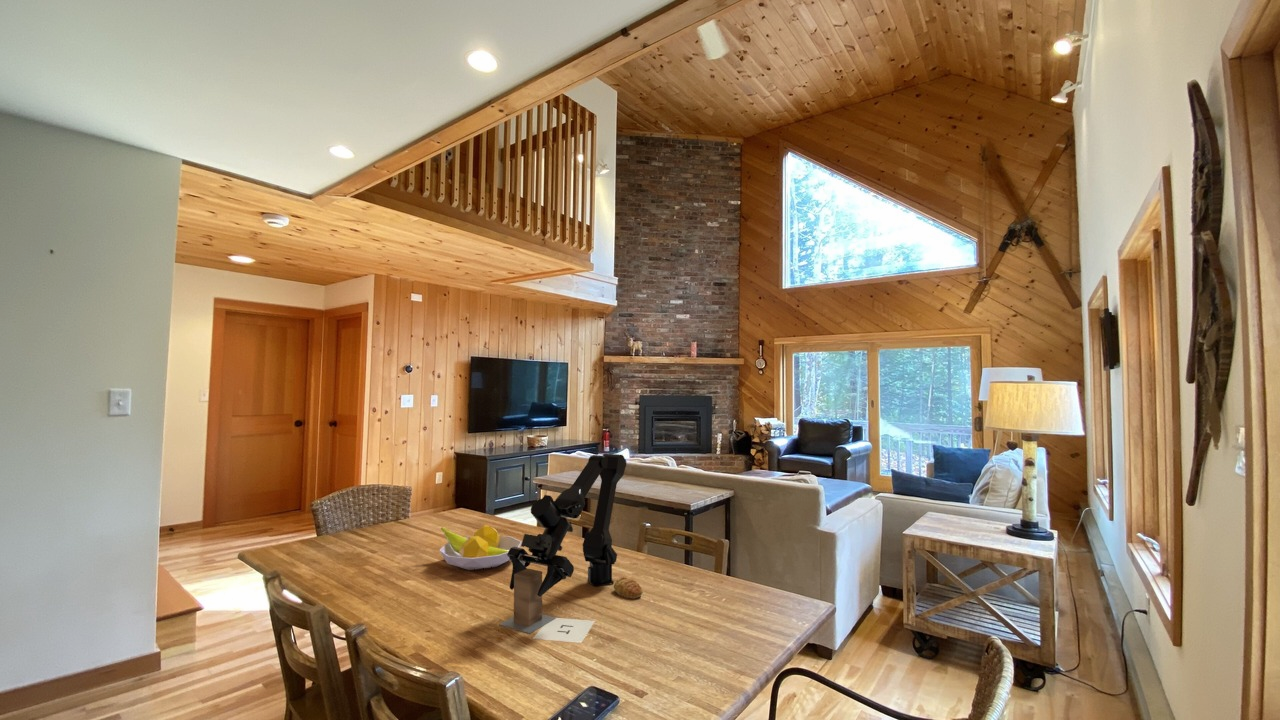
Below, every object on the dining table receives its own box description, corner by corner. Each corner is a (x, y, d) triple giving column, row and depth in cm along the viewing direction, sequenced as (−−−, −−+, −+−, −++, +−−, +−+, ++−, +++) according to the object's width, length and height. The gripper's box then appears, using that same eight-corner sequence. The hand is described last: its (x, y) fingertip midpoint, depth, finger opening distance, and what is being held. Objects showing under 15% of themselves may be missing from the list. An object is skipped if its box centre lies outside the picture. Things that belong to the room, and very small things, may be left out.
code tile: (550, 618, 141) (550, 617, 141) (595, 622, 139) (595, 620, 139) (532, 640, 129) (532, 638, 129) (581, 644, 127) (581, 642, 127)
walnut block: (527, 615, 142) (527, 568, 142) (541, 619, 139) (542, 571, 140) (513, 622, 137) (514, 574, 138) (528, 626, 135) (529, 577, 135)
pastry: (648, 596, 156) (648, 583, 156) (629, 602, 152) (629, 588, 152) (629, 587, 164) (629, 574, 164) (610, 592, 160) (610, 579, 160)
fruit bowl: (537, 559, 189) (537, 526, 190) (475, 582, 167) (476, 545, 167) (481, 546, 204) (482, 515, 205) (418, 566, 182) (419, 532, 182)
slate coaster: (526, 612, 145) (526, 609, 145) (555, 620, 140) (555, 617, 140) (499, 626, 136) (499, 624, 136) (529, 635, 131) (529, 633, 131)
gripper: (512, 516, 147) (481, 569, 137) (567, 525, 138) (538, 583, 128) (531, 538, 154) (503, 591, 144) (585, 548, 145) (559, 605, 135)
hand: (524, 592), depth 137 cm, fingers open, 9 cm apart
